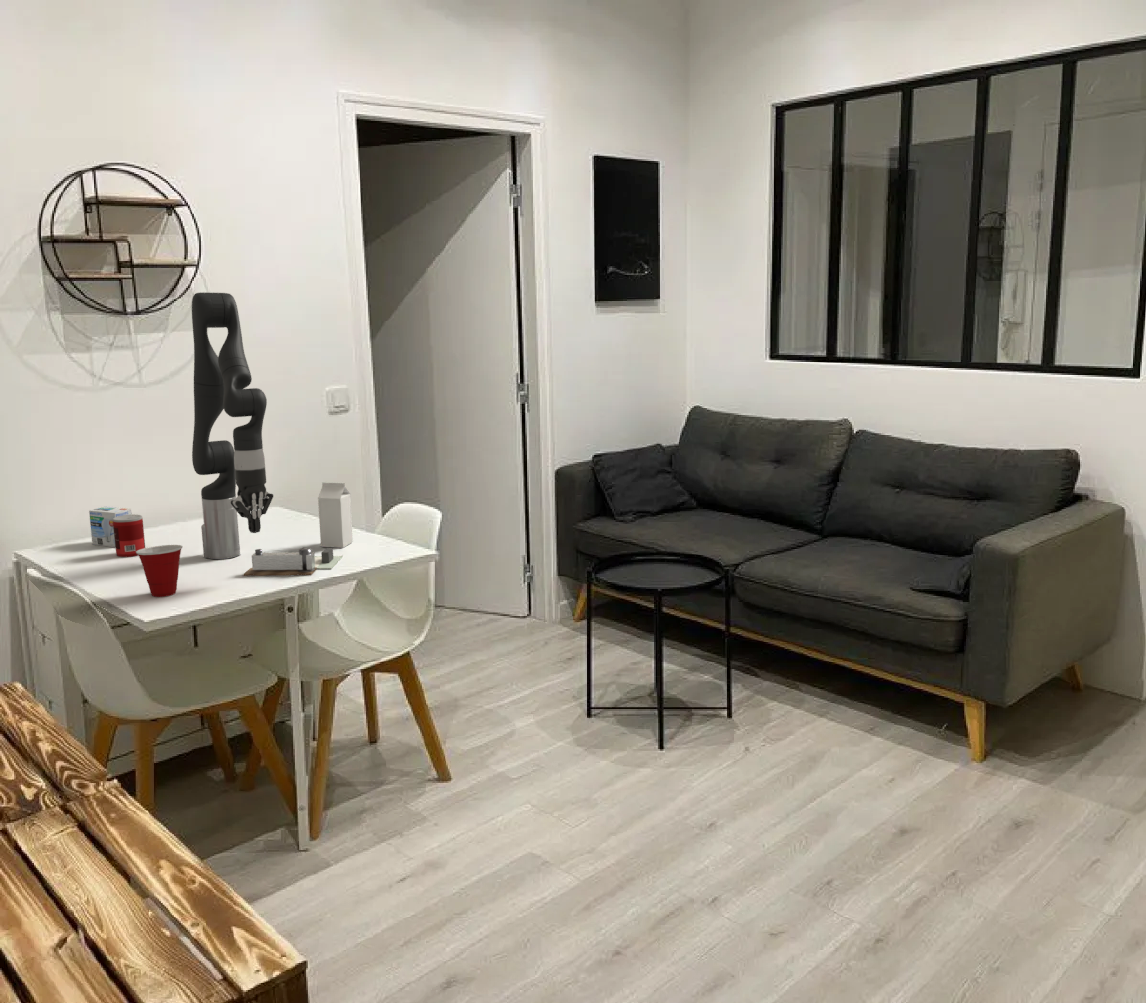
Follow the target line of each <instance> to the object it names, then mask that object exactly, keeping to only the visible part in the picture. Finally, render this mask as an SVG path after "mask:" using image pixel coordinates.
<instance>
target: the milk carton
mask: <svg viewBox="0 0 1146 1003" xmlns="http://www.w3.org/2000/svg"><path fill="white" fill-rule="evenodd" d="M321 483H322V484H321V485H322V486H321V489H320V491H319V494H318V497H317V500H318V503H317V504H318V521H319V537H320V538H319V539H320V547H322V548H342V549H343V548H345V547H346V546H349V545H350V544H352V543H353V542H354V540H353V539H354V538H353V526H352V525H353V522H352V520H353V517H352V505H351V504H352V502H351V493H350V492H349V489H347V487H346V482H327V481H325V482H321Z"/></svg>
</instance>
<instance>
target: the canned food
mask: <svg viewBox="0 0 1146 1003" xmlns="http://www.w3.org/2000/svg"><path fill="white" fill-rule="evenodd" d="M113 529H114V539H115V547H114V548H115V554H116V556H117V557H118V558H131V557H139V556H138V554H137V553H136V551H138V550H140V549H144V548H146V540H145V530H144V529H145V528H144V521H143V515H141V514H132V515H123V516H118V517H115V518H113Z"/></svg>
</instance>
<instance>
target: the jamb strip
mask: <svg viewBox="0 0 1146 1003" xmlns="http://www.w3.org/2000/svg"><path fill="white" fill-rule="evenodd" d="M317 570H318V569H317V567H314V568H313V569H312V570H253V568H252V567H250V568H249V569H247V570H245V572H244V573H243V577H258V576H259V577H266V576H267V577H269V576H271V577H272V576H273V577H274V576H277V577H278V576H283V577H284V576H285V577H286V576H288V577H289V576H291V575H294V576H313V574H314V573H315V572H316V571H317Z"/></svg>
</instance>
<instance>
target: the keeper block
mask: <svg viewBox="0 0 1146 1003" xmlns="http://www.w3.org/2000/svg"><path fill="white" fill-rule="evenodd" d="M320 556H322V563H330V562H331V561H332V560H333V556H334V547H324V549H323V550H322V551H321V555H320Z"/></svg>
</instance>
